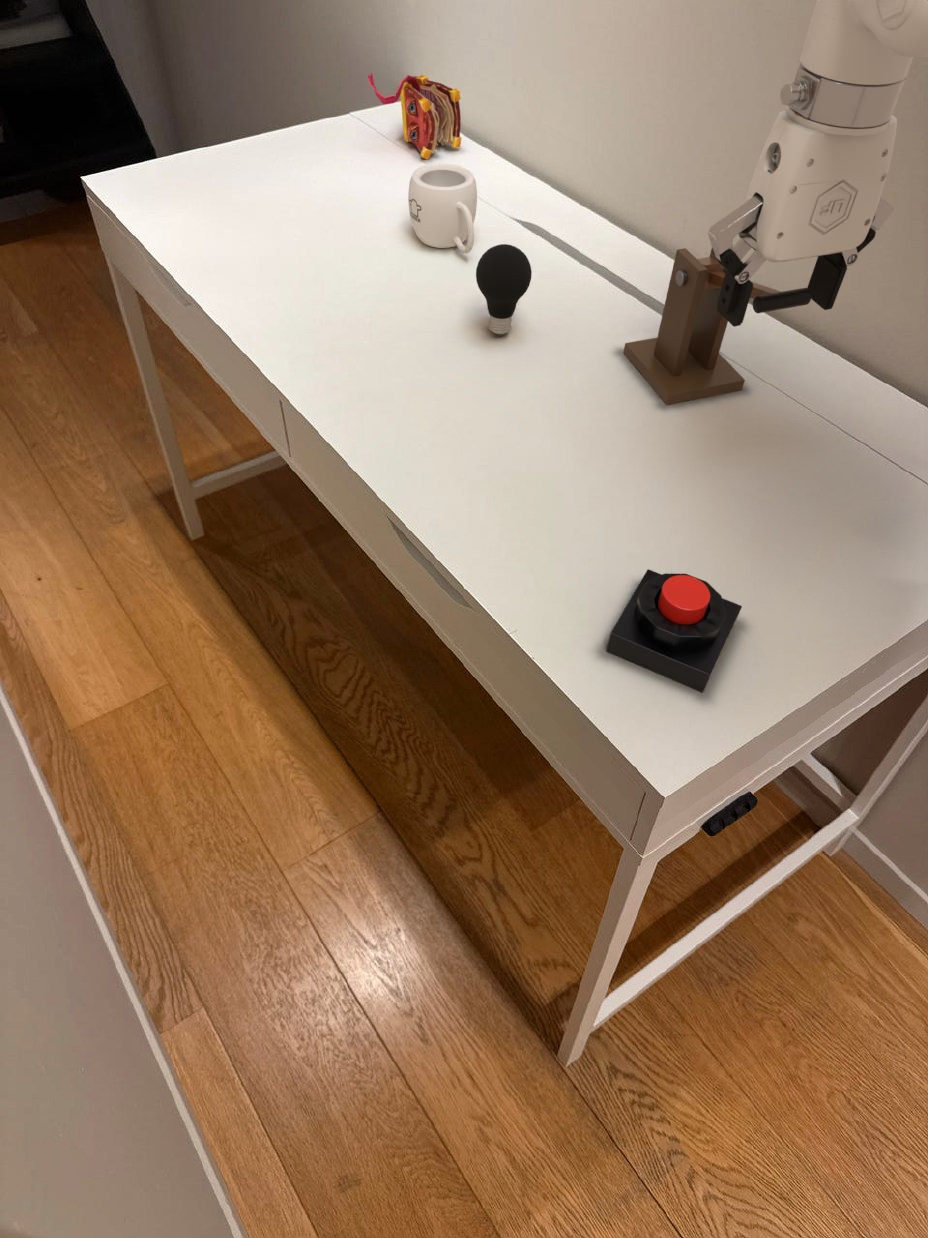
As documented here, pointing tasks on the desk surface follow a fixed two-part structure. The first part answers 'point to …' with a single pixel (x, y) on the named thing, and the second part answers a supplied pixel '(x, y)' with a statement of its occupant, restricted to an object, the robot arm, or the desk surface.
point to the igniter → (672, 634)
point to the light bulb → (503, 283)
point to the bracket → (687, 340)
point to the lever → (757, 290)
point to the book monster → (427, 112)
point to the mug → (443, 205)
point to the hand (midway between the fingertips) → (774, 309)
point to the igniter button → (683, 599)
